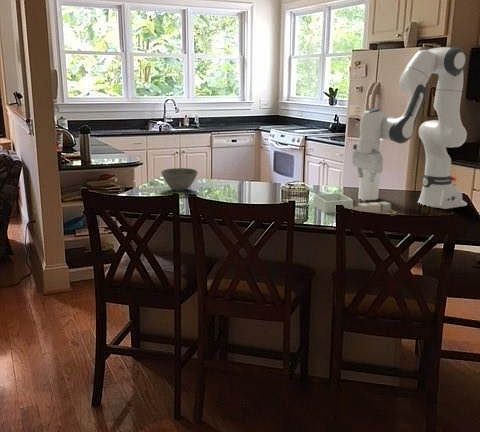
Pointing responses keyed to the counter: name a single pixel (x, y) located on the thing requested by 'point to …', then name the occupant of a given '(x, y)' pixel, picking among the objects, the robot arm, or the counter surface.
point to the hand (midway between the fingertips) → (365, 179)
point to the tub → (331, 202)
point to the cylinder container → (369, 183)
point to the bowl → (179, 178)
